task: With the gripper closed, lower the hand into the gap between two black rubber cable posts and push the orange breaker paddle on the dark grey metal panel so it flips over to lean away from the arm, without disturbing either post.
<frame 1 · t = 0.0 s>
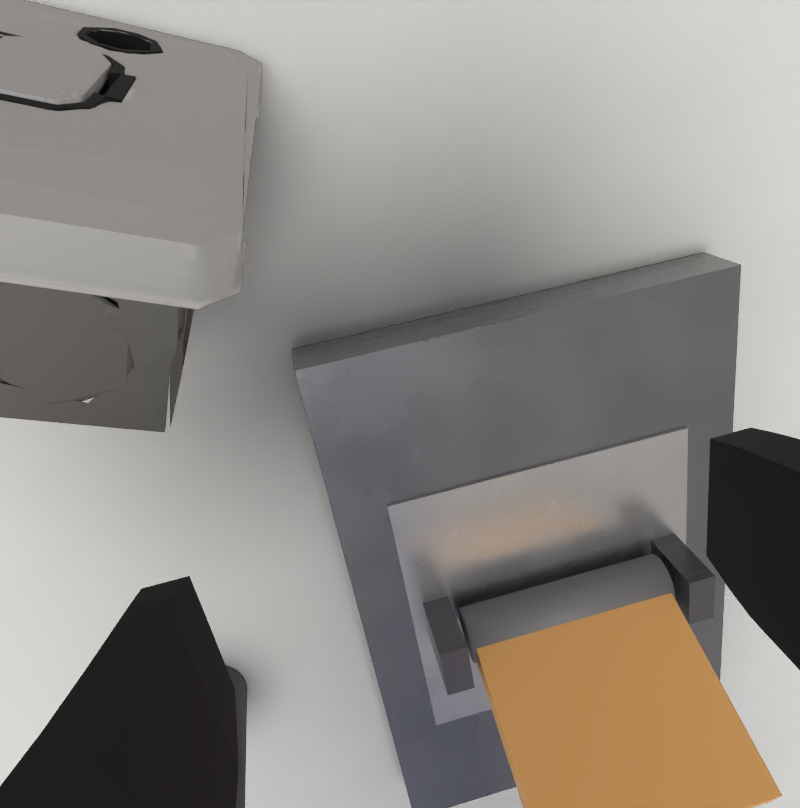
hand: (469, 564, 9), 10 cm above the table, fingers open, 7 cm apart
cable post b: (209, 691, 22), on the table
electrical switch: (52, 142, 15), on the table
breaker paddle: (602, 694, 18), point 5 cm above the table, hinge at -25.0°
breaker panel: (532, 554, 22), on the table
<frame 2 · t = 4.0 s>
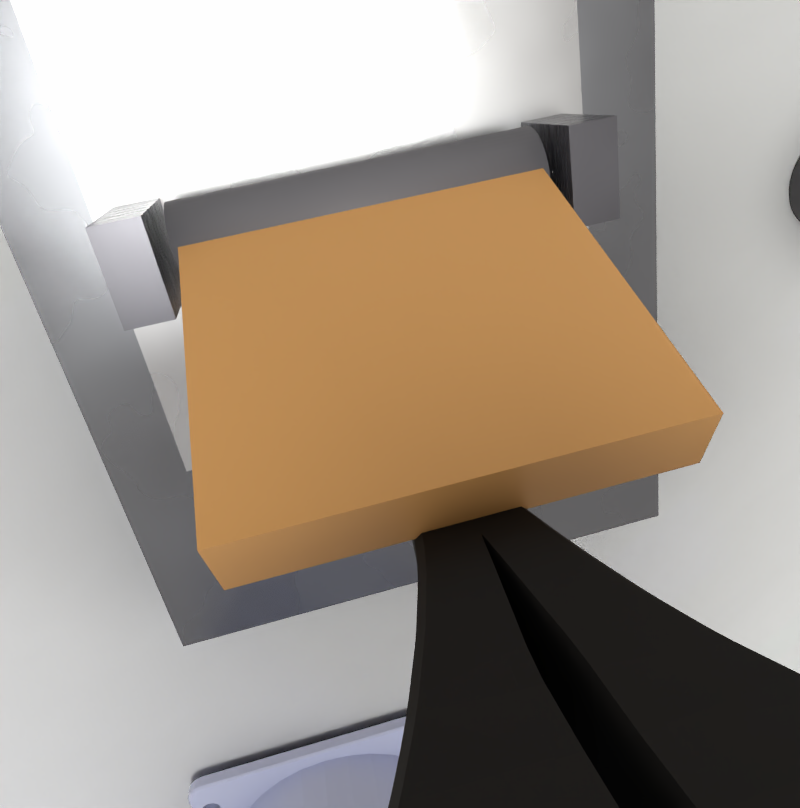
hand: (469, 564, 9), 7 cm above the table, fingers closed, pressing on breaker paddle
breaker paddle: (398, 310, 10), point 5 cm above the table, hinge at -25.0°, touching gripper
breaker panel: (343, 193, 14), on the table
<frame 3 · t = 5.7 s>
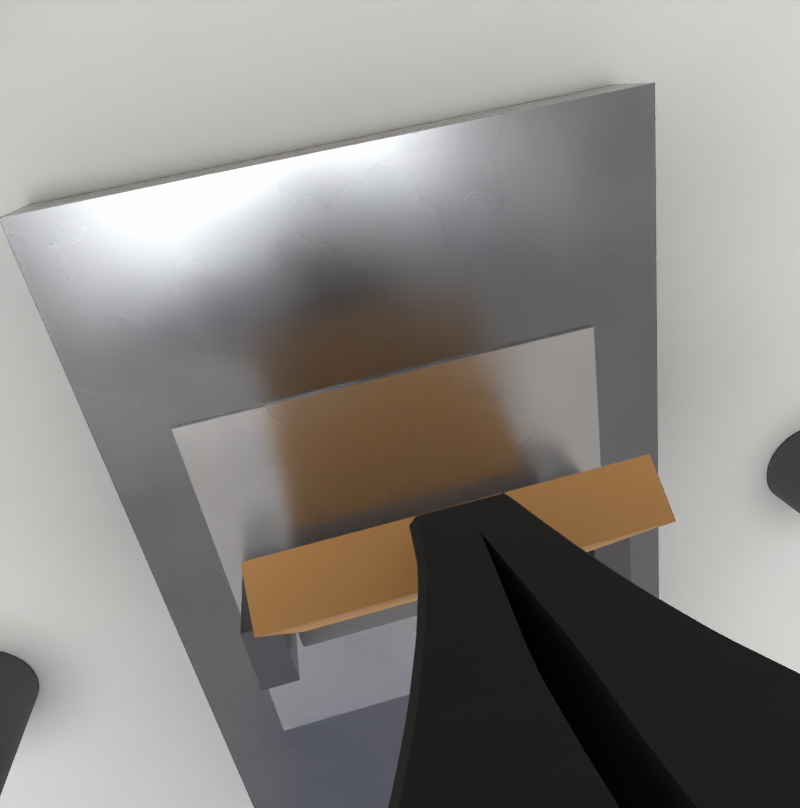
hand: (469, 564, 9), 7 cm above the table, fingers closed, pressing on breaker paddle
breaker paddle: (442, 562, 12), point 4 cm above the table, hinge at 43.3°, touching gripper
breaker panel: (409, 509, 17), on the table
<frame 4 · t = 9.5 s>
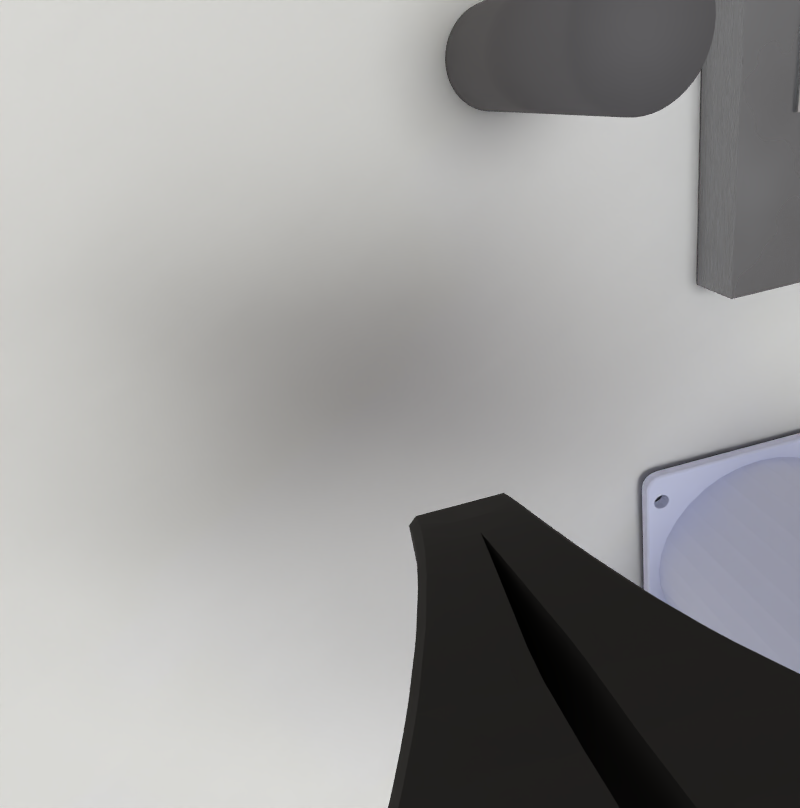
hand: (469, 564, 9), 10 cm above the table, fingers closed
cable post b: (493, 57, 16), on the table
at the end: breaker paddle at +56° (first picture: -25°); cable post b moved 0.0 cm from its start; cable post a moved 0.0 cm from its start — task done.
